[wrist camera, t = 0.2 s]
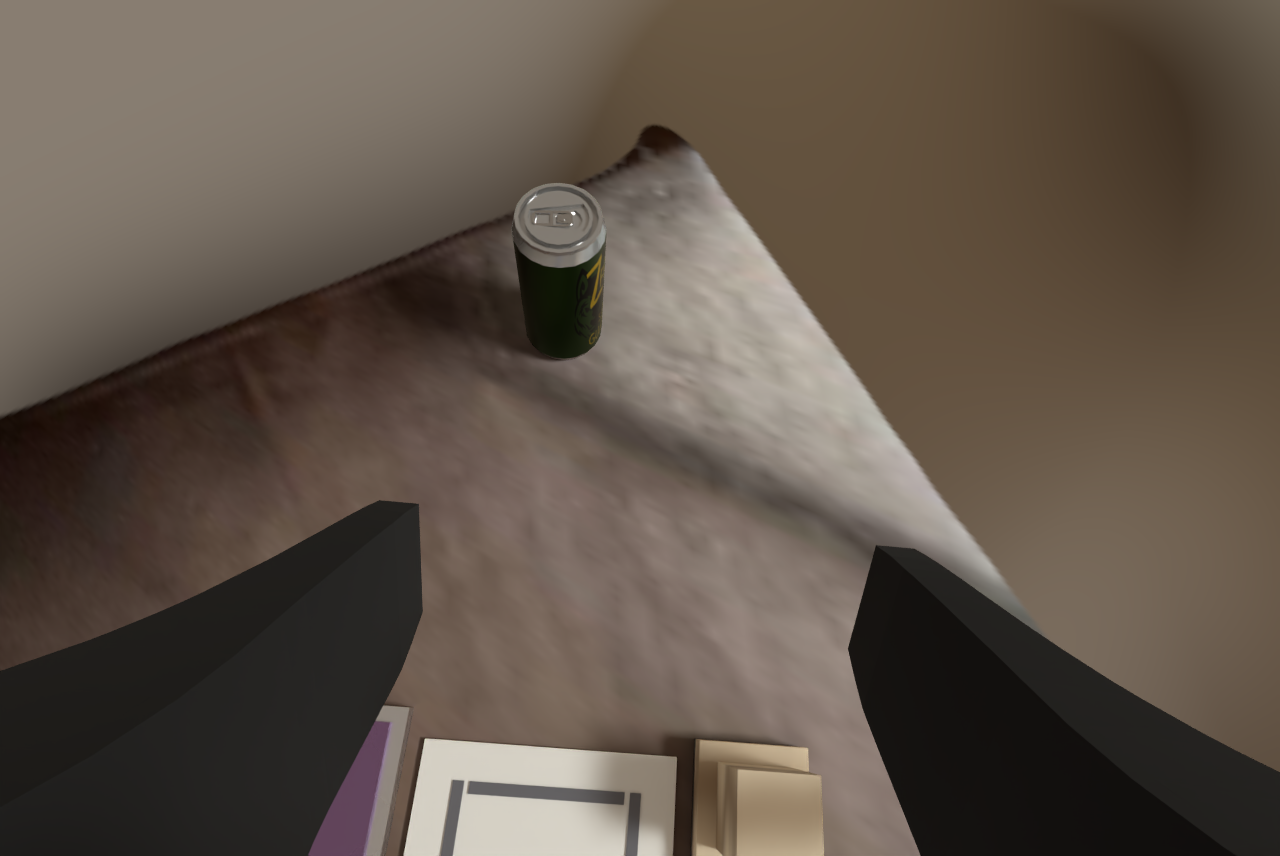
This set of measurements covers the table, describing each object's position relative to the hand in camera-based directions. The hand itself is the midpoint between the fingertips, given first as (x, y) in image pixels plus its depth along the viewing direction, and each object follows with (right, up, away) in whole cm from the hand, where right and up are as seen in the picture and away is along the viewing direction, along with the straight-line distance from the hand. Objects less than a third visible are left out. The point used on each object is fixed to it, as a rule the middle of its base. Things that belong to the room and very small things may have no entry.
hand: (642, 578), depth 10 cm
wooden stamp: (+6, -19, +26) cm, 33 cm away
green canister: (-6, +9, +37) cm, 39 cm away
